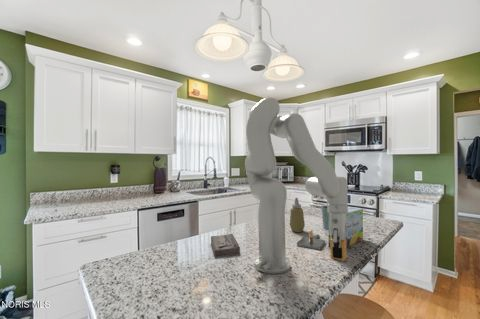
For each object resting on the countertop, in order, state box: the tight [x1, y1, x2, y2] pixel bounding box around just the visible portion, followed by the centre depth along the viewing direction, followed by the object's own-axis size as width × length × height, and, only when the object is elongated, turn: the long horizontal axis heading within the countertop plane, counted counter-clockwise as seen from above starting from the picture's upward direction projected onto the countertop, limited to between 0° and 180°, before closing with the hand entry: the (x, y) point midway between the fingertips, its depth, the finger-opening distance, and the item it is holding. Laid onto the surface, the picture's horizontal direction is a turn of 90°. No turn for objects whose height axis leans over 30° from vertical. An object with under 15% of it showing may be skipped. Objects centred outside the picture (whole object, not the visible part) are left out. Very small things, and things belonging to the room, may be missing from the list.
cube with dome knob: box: [329, 237, 348, 262], centre depth 89 cm, size 5×5×8 cm
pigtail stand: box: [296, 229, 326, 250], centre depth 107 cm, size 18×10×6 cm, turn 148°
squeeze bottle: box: [289, 197, 306, 233], centre depth 124 cm, size 8×8×18 cm
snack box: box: [328, 206, 364, 248], centre depth 104 cm, size 21×6×15 cm, turn 127°
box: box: [210, 233, 241, 257], centre depth 101 cm, size 11×17×3 cm, turn 13°
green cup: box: [320, 205, 329, 231], centre depth 128 cm, size 10×10×12 cm
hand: (338, 254), depth 89 cm, fingers closed on cube with dome knob, 4 cm apart
